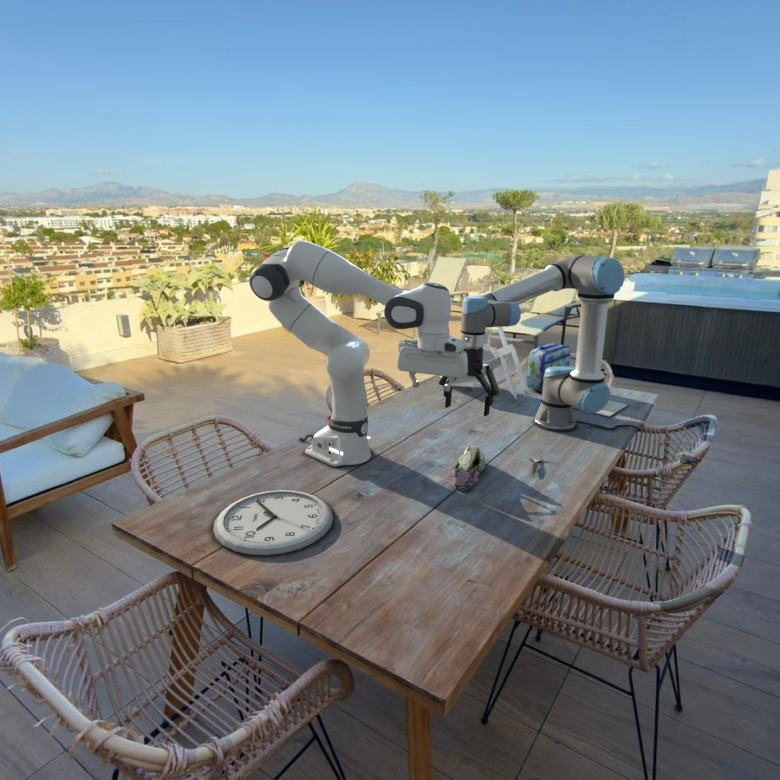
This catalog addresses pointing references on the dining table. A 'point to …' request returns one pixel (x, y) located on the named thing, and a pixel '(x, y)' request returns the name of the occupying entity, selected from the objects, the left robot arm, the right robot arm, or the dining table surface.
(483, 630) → the dining table surface
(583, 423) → the right robot arm
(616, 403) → the invitation card
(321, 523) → the wall clock
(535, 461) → the fork
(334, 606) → the dining table surface
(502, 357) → the white plastic object
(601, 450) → the dining table surface
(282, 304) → the left robot arm
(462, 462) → the shoe
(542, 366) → the lunch box
